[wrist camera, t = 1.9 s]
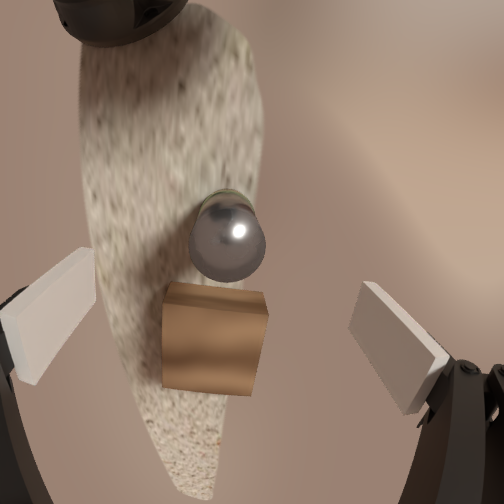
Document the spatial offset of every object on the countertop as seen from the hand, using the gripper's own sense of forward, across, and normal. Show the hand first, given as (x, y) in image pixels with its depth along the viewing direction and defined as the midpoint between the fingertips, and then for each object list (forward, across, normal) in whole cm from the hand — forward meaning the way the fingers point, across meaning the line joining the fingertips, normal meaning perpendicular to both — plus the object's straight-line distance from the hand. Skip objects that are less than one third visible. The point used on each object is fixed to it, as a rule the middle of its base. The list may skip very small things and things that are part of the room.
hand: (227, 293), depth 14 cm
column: (+17, 0, 0) cm, 17 cm away
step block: (+17, 0, -14) cm, 22 cm away
